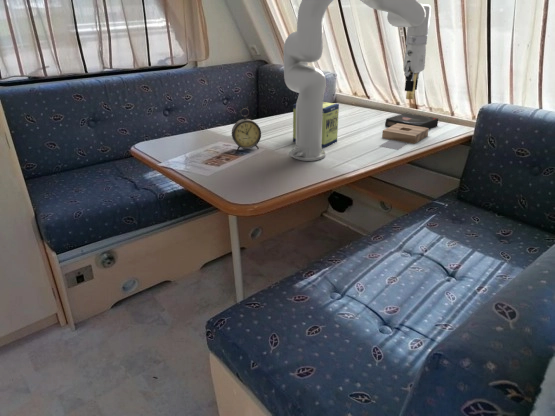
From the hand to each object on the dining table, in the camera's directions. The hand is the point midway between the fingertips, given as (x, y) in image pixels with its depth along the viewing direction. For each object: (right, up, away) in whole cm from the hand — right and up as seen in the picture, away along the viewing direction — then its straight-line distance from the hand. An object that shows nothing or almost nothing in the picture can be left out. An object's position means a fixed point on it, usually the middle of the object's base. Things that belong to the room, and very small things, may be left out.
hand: (410, 89), depth 163 cm
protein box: (-38, -20, +6) cm, 43 cm away
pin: (0, -3, +1) cm, 3 cm away
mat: (-7, -22, -1) cm, 23 cm away
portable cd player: (+8, -10, +24) cm, 28 cm away
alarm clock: (-65, -24, -2) cm, 69 cm away
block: (0, -17, +9) cm, 20 cm away
